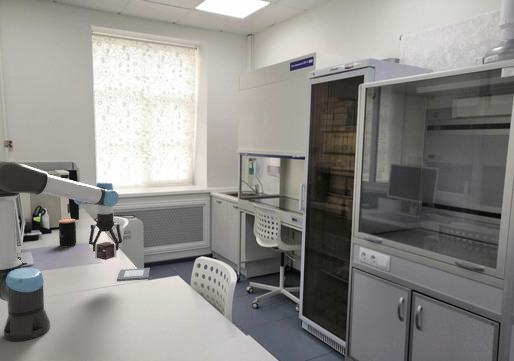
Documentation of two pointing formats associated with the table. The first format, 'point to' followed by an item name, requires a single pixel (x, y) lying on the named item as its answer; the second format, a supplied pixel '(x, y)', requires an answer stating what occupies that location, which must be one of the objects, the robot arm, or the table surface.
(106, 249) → the box
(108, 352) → the table surface
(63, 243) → the coffee jar
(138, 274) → the mat
